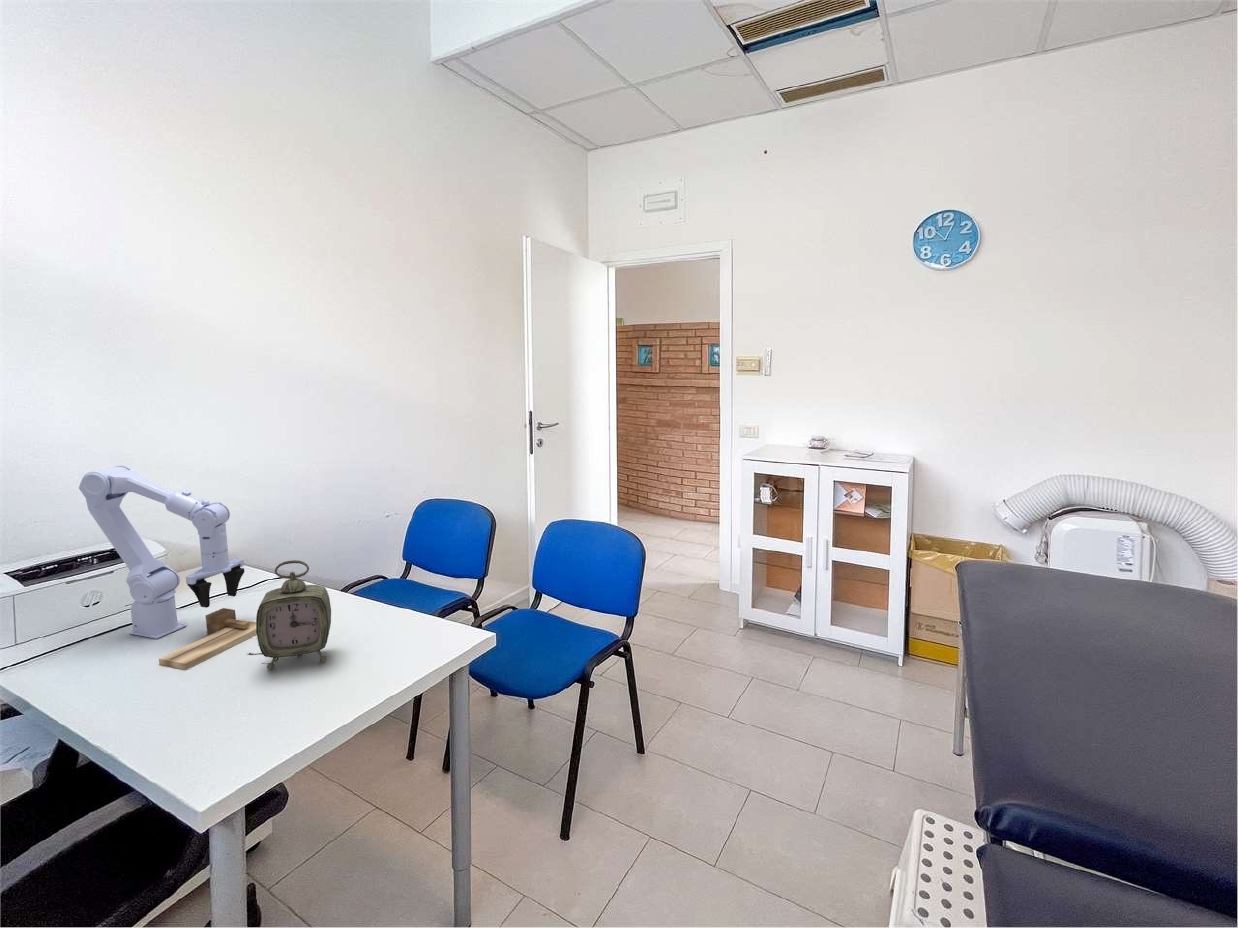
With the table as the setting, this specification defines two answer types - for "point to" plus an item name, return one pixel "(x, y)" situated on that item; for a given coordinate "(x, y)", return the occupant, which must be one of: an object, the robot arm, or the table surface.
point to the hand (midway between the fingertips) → (218, 600)
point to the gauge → (223, 620)
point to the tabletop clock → (293, 619)
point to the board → (208, 647)
